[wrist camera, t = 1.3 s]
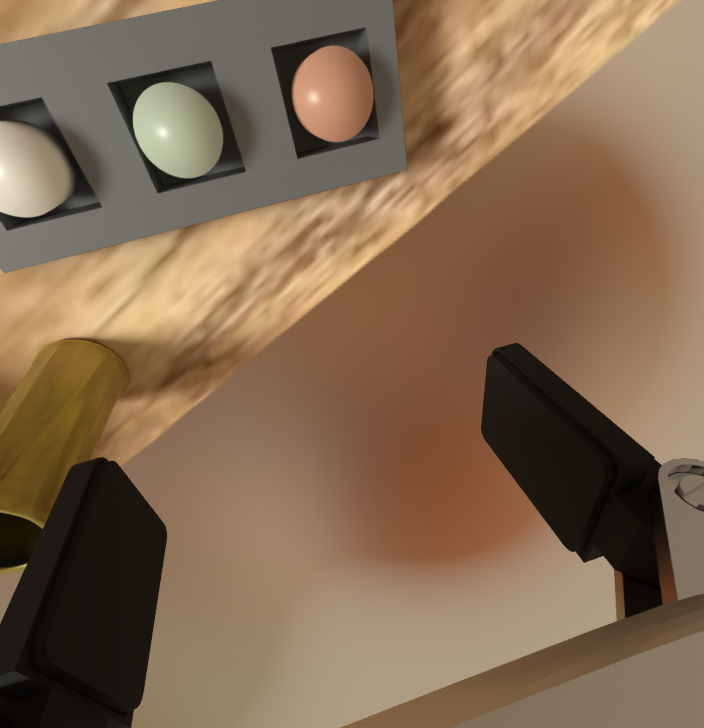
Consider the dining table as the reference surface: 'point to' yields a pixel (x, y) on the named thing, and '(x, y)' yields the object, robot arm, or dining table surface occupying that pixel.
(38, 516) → the vase
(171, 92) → the sage button
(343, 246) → the dining table surface
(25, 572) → the robot arm
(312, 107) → the terracotta button
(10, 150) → the cream rounded piece
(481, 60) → the dining table surface
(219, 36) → the button panel
